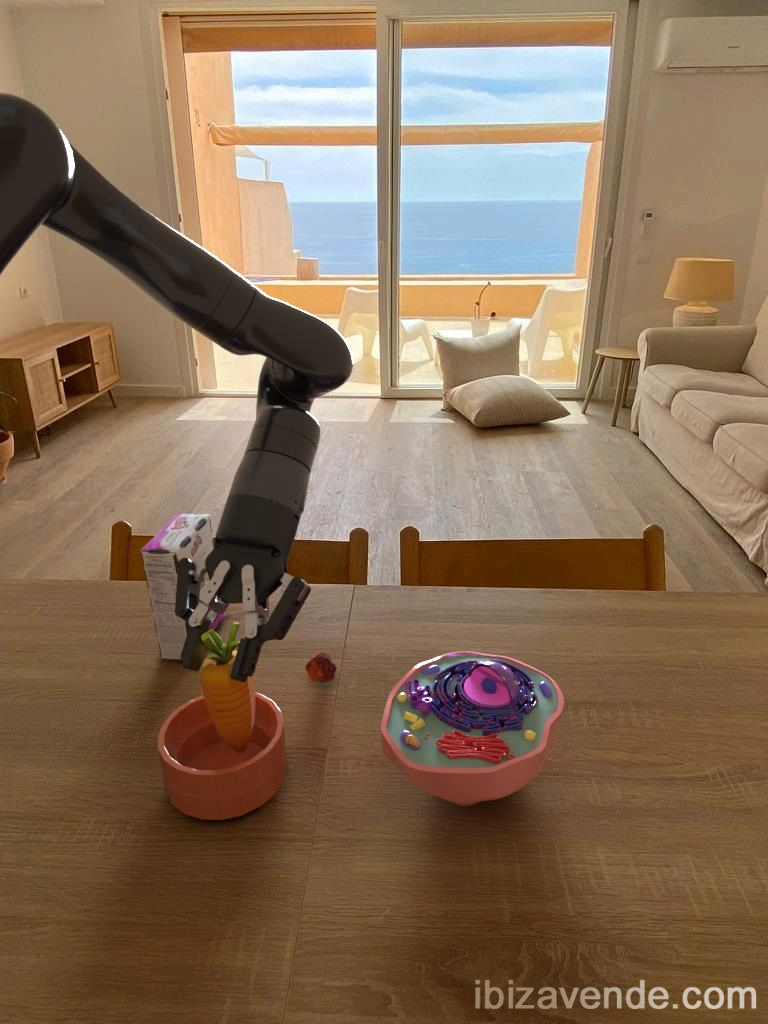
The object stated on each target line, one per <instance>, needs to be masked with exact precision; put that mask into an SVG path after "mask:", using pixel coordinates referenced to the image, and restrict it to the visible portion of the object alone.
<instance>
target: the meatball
mask: <svg viewBox="0 0 768 1024" xmlns="http://www.w3.org/2000/svg"><path fill="white" fill-rule="evenodd" d="M337 670H338V669H337V666H336V663H335V662H334V661H333V660H332V657H331V656H330V654H329V653H327V652H326V651H319V652H316V653H315V654H313V656H311V658H310V660H309V661H307V663H306V665H305V671H306V674H307V676H308V678H309V679H310V681H311V682H313V683H317V682H319V683H331V682H332V681H333V680H334V679H335V675H336V673H337Z"/></svg>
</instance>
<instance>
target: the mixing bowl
mask: <svg viewBox="0 0 768 1024" xmlns="http://www.w3.org/2000/svg"><path fill="white" fill-rule="evenodd" d="M286 744H287V743H286V735H285V723H284V718H283V713H282V710H280V708H279V707H278V706H277V704H276V703H275V701H273V700H272V699H270V698H269V697H267V696H265V695H263V694H261V693H259V692H255V717H254V725H253V729H252V733H251V737H250V740H249V743H248V745H247V748H246V750H245V751H244V752H242V753H237V752H236V751H235V750H234V749H233V748H232V747H231V746H230V745H229V744H228V743H226V741H225V740H224V739H223V738H222V736H221V735H220V734H219V732H218V730H217V728H216V726H215V725H214V723H213V720H212V718H211V716H210V714H209V711H208V709H207V705H206V702H205V698H204V695H203V694H201V695H199V696H197V697H194V698H192V699H190V700H188V701H187V702H184V703H183V704H182V705H180V706H178V707H177V708H175V709H174V711H173V712H171V714H170V715H169V716H168V717H167V718H165V720H164V722H163V723H162V726H161V728H160V729H159V731H158V734H157V751H158V756H159V762H160V767H161V772H162V773H161V774H162V779H163V783H164V789H165V793H166V795H167V797H168V799H169V801H170V804H171V805H172V806H174V808H175V809H177V810H178V811H180V812H181V813H182V814H184V815H187V816H188V817H189V816H190V817H193V818H196V819H199V820H204V821H205V820H208V821H210V820H211V821H224V820H228V819H233V818H237V817H241V816H244V815H246V814H248V813H251V812H252V811H255V810H256V809H258V808H261V806H263V805H264V804H266V802H268V801H269V800H270V799H271V798H272V797H273V796H275V795H276V794H277V792H278V790H279V789H280V787H281V786H282V785H283V783H284V781H285V780H286V775H287V770H288V756H287V746H286Z"/></svg>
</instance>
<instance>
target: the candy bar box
mask: <svg viewBox="0 0 768 1024" xmlns="http://www.w3.org/2000/svg"><path fill="white" fill-rule="evenodd" d="M214 541H215V540H214V533H213V528H212V520H211V514H208V513H207V514H206V513H192V512H191V513H188V512H178V513H176V515H175V516H174V517H172V518H171V519H170V520H169V521H168V523H166V524H165V525H164V526H163V527H162V528H161V529H160V530H159V531H158V532H157V533H156V534H155V535H154V536H153V537H152V538H151V539H150V540H149V541H148V542H147V543H146V544H145V545H144V546H143V547H142V548H141V549H140V550H139V552H140V555H141V561H142V565H143V571H144V576H145V577H144V578H145V581H146V587H147V591H148V597H149V600H150V607H151V610H152V611H151V612H152V618H153V622H154V628H155V632H156V638H157V643H158V648H159V655H160V659H161V660H165V661H166V660H167V661H180V662H181V652H182V649H183V646H184V643H185V640H186V636H187V633H188V630H189V625H188V623H187V622H186V621H184V620H183V619H181V618H180V617H178V616H176V614H175V602H176V588H177V574H178V563H179V561H180V560H181V559H182V558H188V559H189V560H191V561H195V560H203V559H206V557H207V556H208V555H209V553H210V552H211V551H212V550H213V548H214V546H215V542H214ZM209 582H210V580H209V576H208V573H207V572H206V573H205V575H204V580H203V581H201V582H200V596H201V594H202V593H203V591H204V590H205V588H206V586H207V585H208V583H209ZM200 596H199V598H200ZM216 599H217V596H216V598H215V600H216ZM224 618H225V612H224V613H222V614H220V615H219V617H218V618H217V620H216V622H215V623H214V625H213V626H212V628H211V629H213V630H214V631H215V632H216V629H217V628H218V626H219V625H220V624H221V622H222V621H223V620H224ZM211 629H210V630H211Z"/></svg>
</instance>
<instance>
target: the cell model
mask: <svg viewBox="0 0 768 1024" xmlns="http://www.w3.org/2000/svg"><path fill="white" fill-rule="evenodd" d="M564 707H565V697H564V694H563V691H562V689H561V688H560V687H559V685H558V683H557V682H556V681H555V680H554V679H553V678H552V677H551V676H549V675H548V674H547V673H545V672H543V671H541V670H539V669H537V668H535V667H533V666H532V665H529V664H527V663H525V662H523V661H520V660H518V659H515V658H512V657H510V656H506V655H499V654H489V653H482V652H476V651H471V650H470V651H469V650H468V651H467V650H461V651H453V652H448V653H445V654H441V655H439V656H437V657H434V658H432V659H429V660H426V661H423V662H420V663H418V664H416V665H415V666H413V668H411V669H410V670H409V671H408V672H407V673H406V674H405V675H403V677H401V679H399V680H398V682H397V683H396V684H395V685H394V687H393V688H392V690H391V691H390V693H389V695H388V697H387V700H386V704H385V707H384V711H383V716H382V719H381V724H380V736H381V743H382V750H383V753H384V754H385V757H386V758H387V759H388V760H389V761H390V762H391V763H392V764H394V765H395V766H396V767H397V768H398V769H399V770H400V771H401V772H403V773H404V774H405V775H406V777H407V778H408V779H409V780H410V781H411V783H412V784H413V785H414V786H415V787H416V788H417V789H418V790H419V791H420V792H422V793H424V794H426V795H429V796H432V797H436V798H438V799H441V800H444V801H446V802H449V803H452V804H454V805H457V806H461V807H469V806H473V805H476V804H479V803H482V802H487V801H496V800H500V799H503V798H505V797H508V796H511V795H512V794H514V793H516V792H518V791H519V790H521V789H522V788H524V787H526V786H527V785H528V784H530V783H531V782H533V781H535V780H536V779H537V778H538V777H539V776H540V775H541V773H542V772H543V771H544V769H545V767H546V765H547V762H548V759H549V756H550V752H551V749H552V746H553V743H554V740H555V735H556V731H557V728H558V725H559V721H560V719H561V717H562V716H561V715H562V713H563V710H564Z"/></svg>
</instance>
